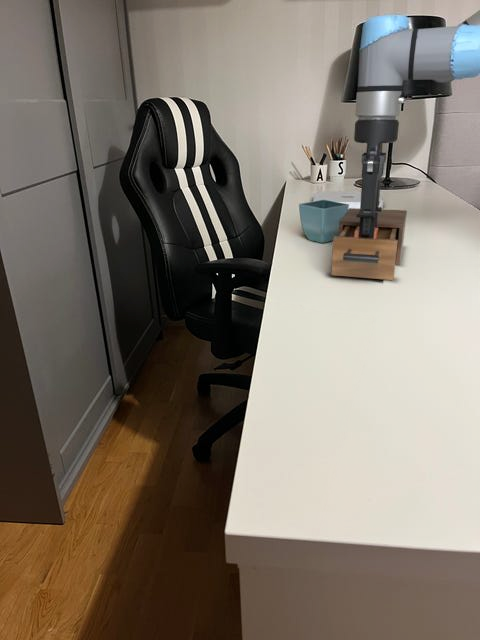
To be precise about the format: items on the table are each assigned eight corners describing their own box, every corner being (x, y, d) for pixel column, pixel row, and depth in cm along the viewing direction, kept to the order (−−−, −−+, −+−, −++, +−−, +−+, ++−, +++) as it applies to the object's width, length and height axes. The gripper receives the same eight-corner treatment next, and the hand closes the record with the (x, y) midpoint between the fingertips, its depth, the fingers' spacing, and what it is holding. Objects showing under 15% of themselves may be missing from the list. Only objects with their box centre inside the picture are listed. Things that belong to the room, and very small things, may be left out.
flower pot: (322, 246, 118) (323, 208, 115) (296, 239, 125) (297, 203, 121) (347, 240, 123) (350, 204, 119) (322, 234, 130) (323, 199, 126)
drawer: (391, 289, 87) (395, 248, 85) (326, 283, 91) (328, 244, 88) (397, 260, 104) (401, 225, 101) (342, 256, 107) (344, 222, 104)
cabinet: (399, 268, 101) (404, 224, 98) (336, 264, 105) (339, 221, 102) (402, 250, 114) (406, 210, 110) (346, 246, 118) (349, 208, 114)
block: (376, 247, 98) (378, 227, 97) (374, 253, 95) (376, 232, 93) (355, 246, 100) (357, 226, 98) (353, 251, 96) (354, 230, 95)
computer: (312, 210, 159) (312, 201, 158) (315, 198, 179) (315, 191, 178) (383, 211, 156) (384, 202, 155) (378, 199, 176) (379, 191, 175)
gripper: (396, 119, 79) (382, 261, 89) (401, 117, 94) (389, 239, 103) (348, 120, 82) (340, 258, 91) (361, 117, 96) (352, 236, 106)
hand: (366, 248), depth 97 cm, fingers closed on block, 4 cm apart
